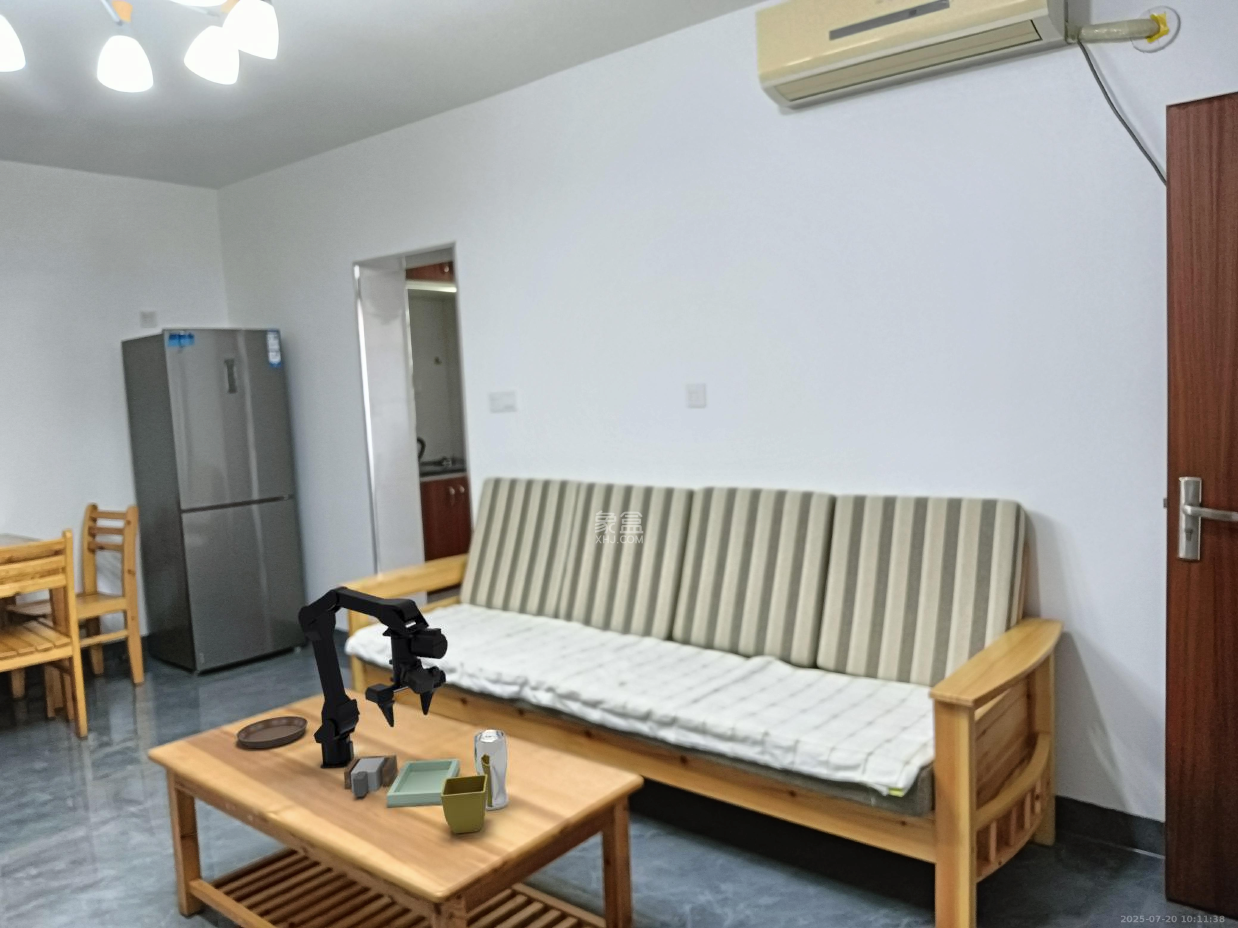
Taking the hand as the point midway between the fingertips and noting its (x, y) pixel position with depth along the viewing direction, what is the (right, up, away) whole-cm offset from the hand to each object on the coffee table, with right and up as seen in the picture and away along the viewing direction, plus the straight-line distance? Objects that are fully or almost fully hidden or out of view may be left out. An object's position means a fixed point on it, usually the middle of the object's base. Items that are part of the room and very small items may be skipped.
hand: (408, 720), depth 211 cm
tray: (+5, -13, -7) cm, 16 cm away
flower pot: (+18, -14, -27) cm, 36 cm away
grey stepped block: (-8, -14, -5) cm, 17 cm away
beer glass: (+22, -13, -17) cm, 31 cm away
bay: (-8, -13, -1) cm, 16 cm away
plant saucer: (-42, -13, +29) cm, 53 cm away
